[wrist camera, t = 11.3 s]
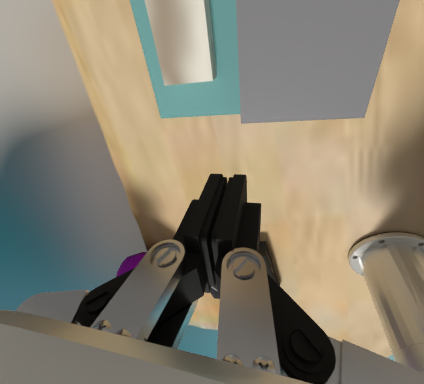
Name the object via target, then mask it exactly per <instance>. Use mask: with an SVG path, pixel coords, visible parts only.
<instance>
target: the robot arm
mask: <svg viewBox="0 0 424 384" xmlns="http://www.w3.org/2000/svg"><path fill="white" fill-rule="evenodd" d="M260 223H261V203H247V179H246V175H236V174H235V175H234V176H233V177H230V178H229V181H228V184H227V178H226V177H223V175H222V174H210V176H209V178H208V180H207V182H206V185H205V187H204V189H203V191H202V194H201V196H200V198H199V200H195V199H194V200H192V202H191V203H190V205H189V208H188V210H187V212H186V214H185V216H184V218H183V220H182V222H181V224H180V226H179V228H178V230H177V232H176V234H175V236H174V238H173V240H171V239H168V240H163V241H160V242H158V243H156V244H155V245H153V246H152V247H151V248H150V249H149V250H148V252H147V253H146V254H145V256H144V257H143V258H142V260H141V261H140V262H139V264H138V265H137V266H136V267H135V268H133V269H131V270H129V271H127V272H125V273H124V274H122V275H120V276H118V277H116V278H114V279H112V280H110V281H108V282H107V283H104V284H103V285H101V286H99V287H97V288H95V289H94V290H92V291H91V292H89V291H88V290H75V291H61V292H48V293H41V294H36V295H34V296H33V297H30V298H28V299H27V300H26V301H25V302H23V303H22V304H21V305H20V306H19V307H18V309H17V310H16V311H9V310H0V384H424V238H423V237H421V236H418V235H415V234H410V233H400V232H394V233H384V234H378V235H375V236H371V237H369V238H366V239H364V240H362V241H360V242H359V243H357V244H356V245H355V246H354V247H353V248H352V249H351V250H350V252H349V255H348V260H349V263H350V266H351V268H352V269H353V270H354V271H355V272H356V273H358V274H360V275H362V276H364V278H365V281H366V283H367V286H368V289H369V291H370V294H371V297H372V299H373V302H374V305H375V308H376V310H377V313H378V316H379V318H380V321H381V324H382V326H383V329H384V332H385V334H386V337H387V340H388V343H389V345H390V348H391V351H392V353H393V356H394V359H395V361H396V362H395V361H393V360H390V359H388V358H386V357H383V356H381V355H378V354H376V353H374V352H371V351H369V350H367V349H364V348H362V347H359V346H357V345H355V344H352V343H350V342H348V341H345V340H342V342H340V341H338V340H335V339H333V338H331V337H328V336H327V335H326V334H325V332H324V331H323V330H322V329H321V328H320V327H319V326H318V325H317V324H316V323H315V322H314V321H313V320H312V319H311V318H310V317H309V316H308V315H307V314H306V313H305V312H304V310H303V309H302V308H301V307H300V306H299V305H298V304H297V303H296V302H295V301H294V300H293V299H292V298H291V297H290V296H289V295H288V294H287V293H286V292H285V291H284V290H283V289H282V288H281V287H280V286H279V285H278V284H277V283H276V282H275V281H274V280H273V279H272V278H271V277H270V276H269V275H268V274H267V270H266V264H265V261H264V259H263V257H262V256H261V255H260V254H259V253H258V251H259V238H260ZM216 284H217V289H218V295H219V299H220V307H219V325H218V345H217V359H214V358H210V357H206V356H202V355H198V354H194V353H190V352H186V351H182V350H178V349H177V348H178V346H179V344H180V342H181V339H182V337H183V335H184V333H185V330H186V328H187V326H188V324H189V321H190V319H191V317H192V315H193V312H194V310H195V308H196V305H197V302H198V299H199V298H200V297H202V296H203V295H204V292H206V293H210V290H211V286H216Z"/></svg>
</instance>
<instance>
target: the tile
mask: <svg viewBox="0 0 424 384" xmlns="http://www.w3.org/2000/svg"><path fill="white" fill-rule="evenodd" d="M145 5H146V9H147V13H148V17H149V21H150V26H151V30H152V34H153V38H154V43H155V47H156V51H157V55H158V60H159V64H160V68H161V72H162V77H163V81H164V85H165V86H166V85H176V84H186V83H196V82H206V81H213V80H214V79H215V78H216V77H217V72H216V62H215V52H214V42H213V32H212V23H211V13H210V3H209V0H145Z"/></svg>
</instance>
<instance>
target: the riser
mask: <svg viewBox="0 0 424 384" xmlns="http://www.w3.org/2000/svg"><path fill="white" fill-rule="evenodd" d="M399 1H400V0H236V15H237V39H238V62H239V86H240V109H241V123H263V122H284V121H305V120H326V119H348V118H364V117H365V114H366V110H367V107H368V104H369V100H370V97H371V94H372V90H373V87H374V84H375V80H376V77H377V74H378V70H379V67H380V64H381V60H382V57H383V54H384V50H385V47H386V44H387V40H388V37H389V34H390V30H391V27H392V24H393V21H394V17H395V14H396V11H397V7H398V4H399Z"/></svg>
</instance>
